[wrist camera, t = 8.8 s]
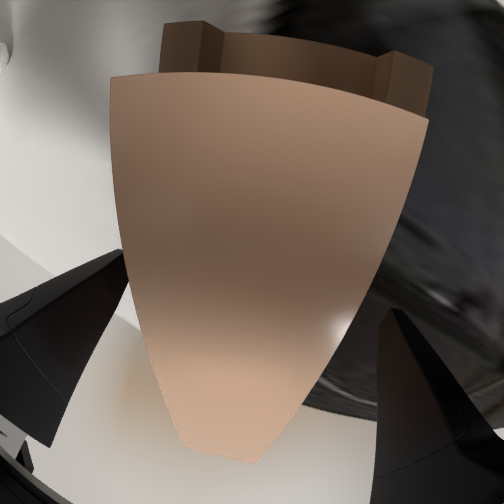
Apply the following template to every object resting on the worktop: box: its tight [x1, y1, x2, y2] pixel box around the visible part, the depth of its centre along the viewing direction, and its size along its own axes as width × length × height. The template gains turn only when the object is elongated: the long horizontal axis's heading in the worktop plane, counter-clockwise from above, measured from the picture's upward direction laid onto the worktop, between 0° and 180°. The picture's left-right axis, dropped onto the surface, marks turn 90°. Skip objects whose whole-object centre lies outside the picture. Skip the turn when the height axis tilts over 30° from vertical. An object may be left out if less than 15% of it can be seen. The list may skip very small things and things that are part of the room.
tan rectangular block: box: [110, 72, 429, 464], centre depth 8 cm, size 3×12×7 cm, turn 173°
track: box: [159, 21, 434, 117], centre depth 11 cm, size 8×16×3 cm, turn 173°
